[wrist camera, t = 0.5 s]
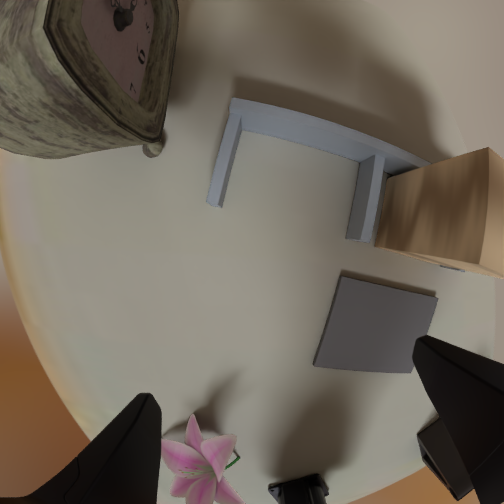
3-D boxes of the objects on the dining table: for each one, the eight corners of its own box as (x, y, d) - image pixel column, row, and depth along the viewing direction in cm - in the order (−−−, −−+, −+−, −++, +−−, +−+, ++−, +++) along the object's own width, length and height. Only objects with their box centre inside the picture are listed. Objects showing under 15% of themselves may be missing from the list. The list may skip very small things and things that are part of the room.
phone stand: (416, 434, 23) (460, 490, 11) (451, 406, 23) (501, 453, 11) (422, 460, 24) (456, 508, 12) (453, 437, 24) (491, 479, 12)
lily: (258, 391, 23) (197, 433, 14) (299, 482, 19) (261, 541, 11) (173, 409, 27) (110, 434, 18) (211, 486, 23) (161, 523, 15)
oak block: (425, 261, 21) (525, 284, 9) (374, 246, 21) (479, 264, 9) (436, 199, 21) (535, 189, 9) (387, 178, 21) (488, 146, 9)
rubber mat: (408, 371, 22) (410, 373, 22) (312, 363, 22) (313, 366, 21) (435, 297, 22) (438, 298, 21) (339, 275, 21) (341, 276, 21)
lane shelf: (444, 267, 21) (471, 273, 17) (211, 205, 20) (203, 200, 16) (456, 196, 21) (483, 193, 17) (234, 119, 20) (232, 97, 16)
